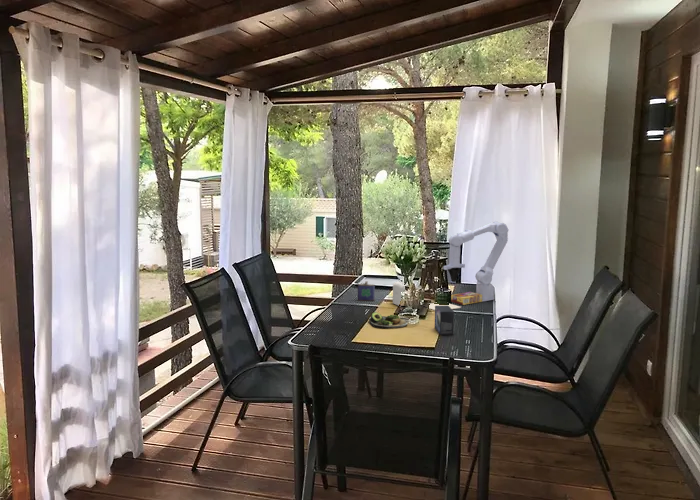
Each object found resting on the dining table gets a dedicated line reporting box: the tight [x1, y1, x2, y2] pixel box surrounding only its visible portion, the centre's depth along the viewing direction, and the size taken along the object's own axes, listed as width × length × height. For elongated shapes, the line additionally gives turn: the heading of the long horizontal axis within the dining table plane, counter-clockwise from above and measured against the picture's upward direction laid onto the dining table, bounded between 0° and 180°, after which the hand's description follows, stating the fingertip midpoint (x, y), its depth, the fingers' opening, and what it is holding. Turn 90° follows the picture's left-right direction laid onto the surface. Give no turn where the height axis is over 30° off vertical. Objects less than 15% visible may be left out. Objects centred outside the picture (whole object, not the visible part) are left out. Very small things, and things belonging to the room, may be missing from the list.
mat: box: [429, 302, 462, 311], centre depth 283 cm, size 16×14×1 cm
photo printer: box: [392, 281, 407, 307], centre depth 284 cm, size 10×4×12 cm, turn 26°
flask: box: [357, 281, 376, 302], centre depth 294 cm, size 9×3×11 cm, turn 88°
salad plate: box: [368, 312, 410, 329], centre depth 250 cm, size 19×18×5 cm
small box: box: [434, 305, 455, 336], centre depth 238 cm, size 11×6×10 cm, turn 5°
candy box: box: [450, 291, 483, 306], centre depth 294 cm, size 9×4×15 cm
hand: (453, 281), depth 297 cm, fingers closed
